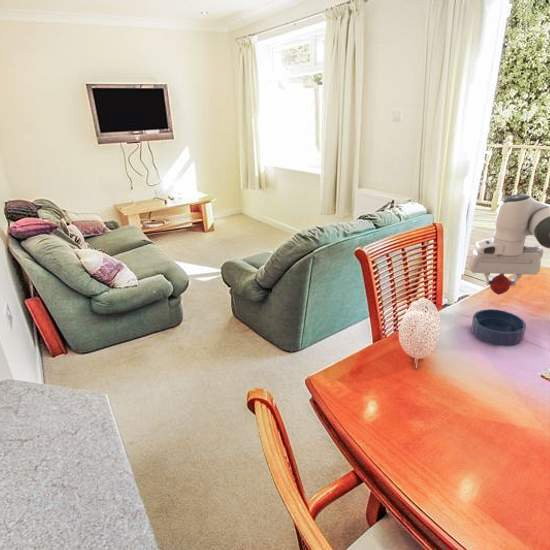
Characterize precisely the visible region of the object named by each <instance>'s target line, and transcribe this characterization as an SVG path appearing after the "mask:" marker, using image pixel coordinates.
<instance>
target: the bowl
mask: <svg viewBox="0 0 550 550" xmlns="http://www.w3.org/2000/svg"><path fill="white" fill-rule="evenodd" d="M471 321H472V322H471V327H470V330H471V333H472V335H473V336H474V337H475V338H477V339H479V340H480V341H482V342H483V343H484V342H485V343H486V344H490V345H494V346H500V347H513V346H517V345H520V344H521V343H522V342H523V341H524V337H525V332H526V329H527V323H526V322H525V321H524V319H523V318H521V317H520V316H519V315H516V314H514V313H512V312H509V311H506V310H501V309H491V308H488V309H481V310H478V311H476V312H475V313H473V316H472V320H471Z"/></svg>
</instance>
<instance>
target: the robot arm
mask: <svg viewBox="0 0 550 550" xmlns="http://www.w3.org/2000/svg"><path fill="white" fill-rule="evenodd" d="M492 235H493V236H492V237H489V238H485V239H482V240H479V241H476V242H475V249H474V250H473V251H472V253H471V255H470V258H469V262H468V269H469V271H470V272H471V273H473V274H483V276H484V277H485V284H486V285H487V286H490V285H492V279H493V278H490V275H491V274H498V275H499V274H504V275H515V276H513V278H509V281H510V287H511V286H512V287H515V286H516V285H517V282H518V281H519V280H520V279H521V278H522V275H532V276H533V275H534V276H535V275H538V274H539V273H540V272H541V265H542V261H541V260H542V258H543V255H544V249H543V248H541V247H540V246H542V247H544V248H546V249H550V204H548V203H544V202H541V201H538V200H536V199H535V198H533V197H532V196H531V195H529V194H524V193H523V194H519V193H518V194H512V195H508V196H506V197H504V198H503V199H502V200H501V201H500V204H499V206H498V210H497V213H496V217H495V230H494V232H493V234H492ZM529 236H533V237H534V238H535V239H536V241H537V242H538V243H539V244H540V246H538V245H533V246H531V245H525V244H526V239H527V237H529Z"/></svg>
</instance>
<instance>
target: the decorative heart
mask: <svg viewBox="0 0 550 550" xmlns="http://www.w3.org/2000/svg"><path fill="white" fill-rule="evenodd" d="M402 317H403V318H402V320H401V322H400V324H399V327H398V340H399V344H400V346H401V348H402V350H403V351H404V353H405V354H407V356H409V357H411V358H413V359H414V364H415V369H417V368H418V360H421V359H425V358H427V357H429V356H430V355H432V353H433V352H434V351H435V350H436V348H437V346H438V344H439V340H440V335H441V318H440V313H439V310H438V308H437V306H436V304H434V302H432V300H429V299H427V298H420V299H417V300H416V301H414V302H413V303H412V304H411V305H410V306H409V307H408V308H407V310H406V311H405V313H404V315H403V316H402Z"/></svg>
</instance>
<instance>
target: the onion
mask: <svg viewBox="0 0 550 550" xmlns="http://www.w3.org/2000/svg"><path fill="white" fill-rule="evenodd" d="M491 279H492V285H489V287H490V290H491V291H492V292H493V293H495V294H496V295H498V296H499V295H502V294H505V293H507V292H508V291H509V290H510V288H511V286H510V281H509V280H510V278H508V277H507V276H506V275H505V274H498V275H495V276H494V277H492V278H491Z"/></svg>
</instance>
